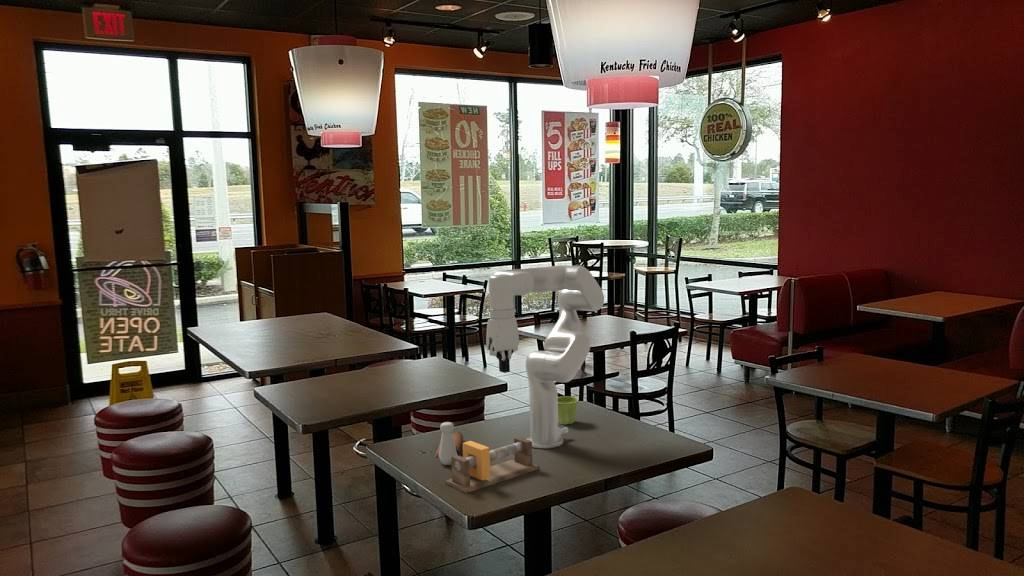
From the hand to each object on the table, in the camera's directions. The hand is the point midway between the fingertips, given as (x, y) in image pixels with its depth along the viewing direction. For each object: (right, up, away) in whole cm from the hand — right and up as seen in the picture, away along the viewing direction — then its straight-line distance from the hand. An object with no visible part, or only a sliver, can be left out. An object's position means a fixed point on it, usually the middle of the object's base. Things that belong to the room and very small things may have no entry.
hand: (504, 371), depth 234 cm
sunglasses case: (-19, -28, +16) cm, 38 cm away
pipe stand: (-3, -30, -10) cm, 32 cm away
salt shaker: (-18, -29, +2) cm, 34 cm away
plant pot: (+22, -24, +42) cm, 54 cm away
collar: (-8, -29, -15) cm, 33 cm away
